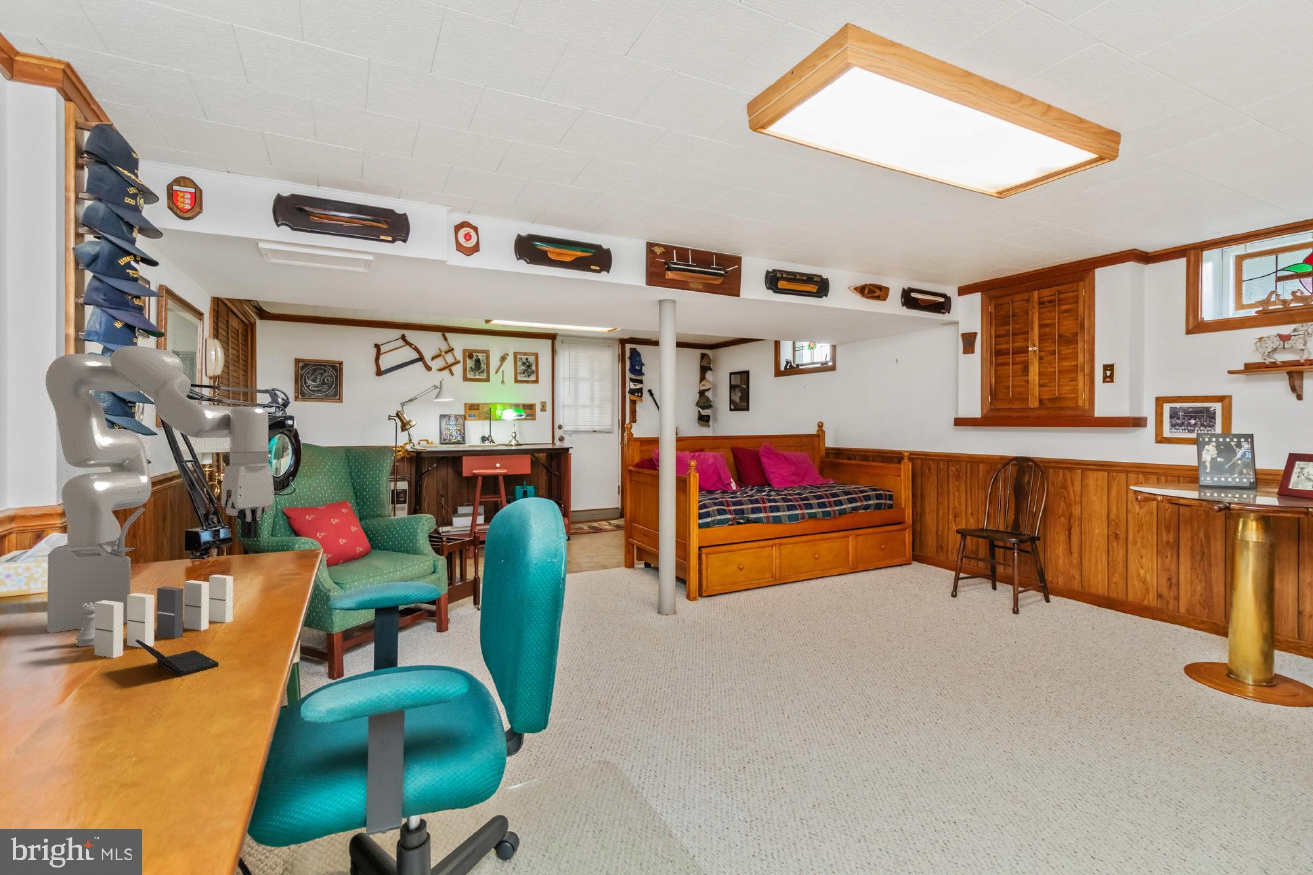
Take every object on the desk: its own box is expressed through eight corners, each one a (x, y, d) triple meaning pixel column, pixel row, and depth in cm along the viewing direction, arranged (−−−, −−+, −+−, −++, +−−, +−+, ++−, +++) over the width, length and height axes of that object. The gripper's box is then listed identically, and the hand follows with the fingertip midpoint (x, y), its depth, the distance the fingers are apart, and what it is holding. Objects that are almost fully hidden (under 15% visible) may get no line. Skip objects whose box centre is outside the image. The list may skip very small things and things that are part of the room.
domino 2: (135, 642, 122) (136, 592, 122) (154, 645, 121) (154, 595, 121) (126, 645, 121) (127, 594, 120) (145, 648, 119) (145, 597, 119)
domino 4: (191, 625, 133) (191, 580, 133) (208, 628, 131) (209, 582, 131) (183, 628, 131) (184, 581, 131) (201, 630, 130) (201, 583, 130)
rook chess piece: (87, 648, 118) (87, 607, 118) (69, 646, 119) (69, 605, 119) (111, 640, 123) (112, 601, 123) (94, 638, 124) (94, 599, 124)
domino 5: (215, 618, 138) (216, 574, 138) (232, 620, 137) (233, 576, 136) (208, 620, 136) (209, 576, 136) (225, 622, 135) (226, 578, 135)
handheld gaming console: (231, 654, 113) (191, 620, 108) (199, 689, 108) (155, 656, 102) (194, 652, 118) (154, 620, 113) (162, 686, 112) (118, 654, 107)
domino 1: (104, 651, 117) (104, 600, 117) (123, 655, 115) (123, 602, 115) (94, 654, 115) (94, 602, 115) (113, 658, 114) (113, 605, 114)
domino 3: (174, 638, 124) (175, 590, 124) (156, 636, 126) (157, 588, 126) (182, 636, 126) (183, 588, 126) (164, 633, 127) (165, 586, 127)
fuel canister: (145, 615, 139) (146, 506, 139) (143, 620, 135) (144, 508, 135) (52, 627, 130) (52, 510, 130) (47, 633, 126) (48, 513, 126)
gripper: (265, 457, 150) (265, 531, 151) (205, 460, 136) (205, 542, 136) (289, 458, 148) (289, 533, 149) (231, 461, 134) (231, 544, 134)
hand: (249, 537), depth 142 cm, fingers closed
